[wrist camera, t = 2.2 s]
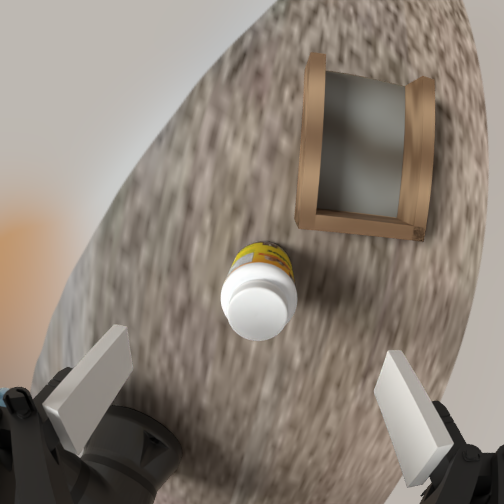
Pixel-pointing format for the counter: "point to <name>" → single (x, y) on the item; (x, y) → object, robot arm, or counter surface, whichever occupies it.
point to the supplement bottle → (259, 291)
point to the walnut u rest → (365, 154)
